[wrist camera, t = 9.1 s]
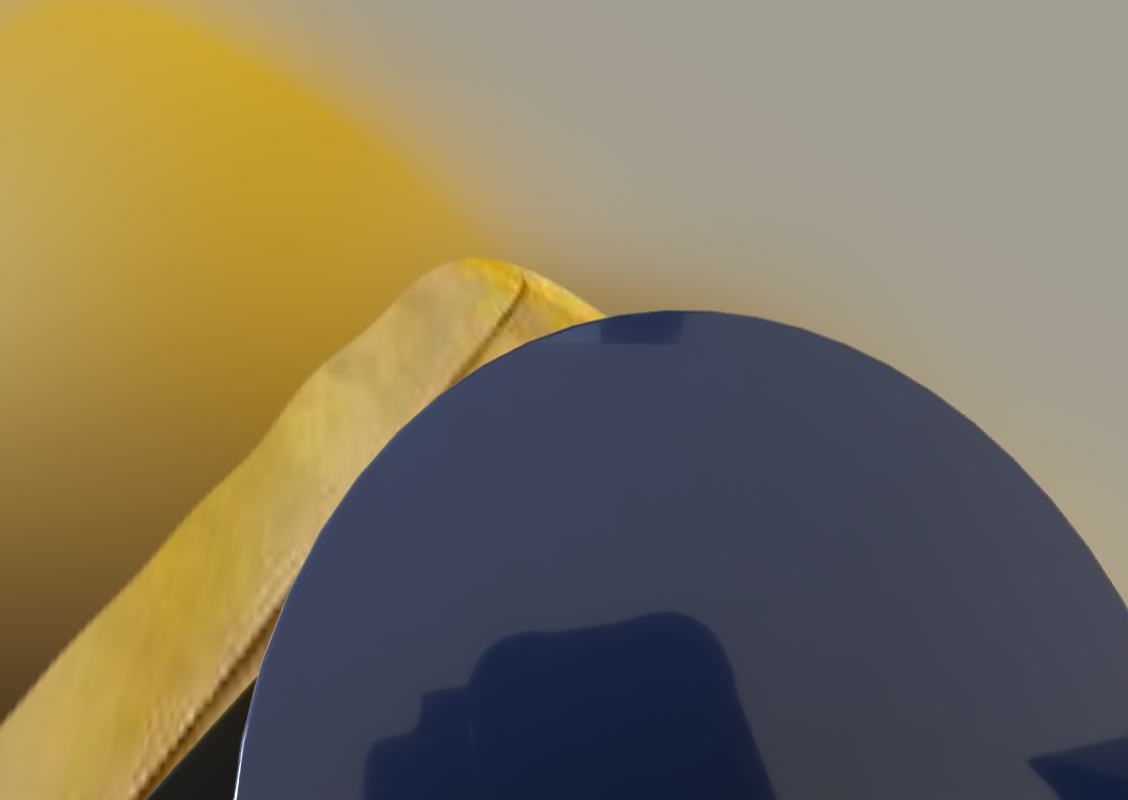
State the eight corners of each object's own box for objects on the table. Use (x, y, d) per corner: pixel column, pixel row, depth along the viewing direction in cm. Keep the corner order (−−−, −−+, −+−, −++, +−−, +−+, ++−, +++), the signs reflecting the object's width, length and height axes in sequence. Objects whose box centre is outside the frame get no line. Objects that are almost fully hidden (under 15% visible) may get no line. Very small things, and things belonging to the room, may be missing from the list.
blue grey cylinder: (623, 893, 12) (1232, 2119, 2) (362, 716, 13) (-85, 1037, 3) (740, 602, 15) (1245, 556, 5) (521, 468, 16) (578, 191, 6)
